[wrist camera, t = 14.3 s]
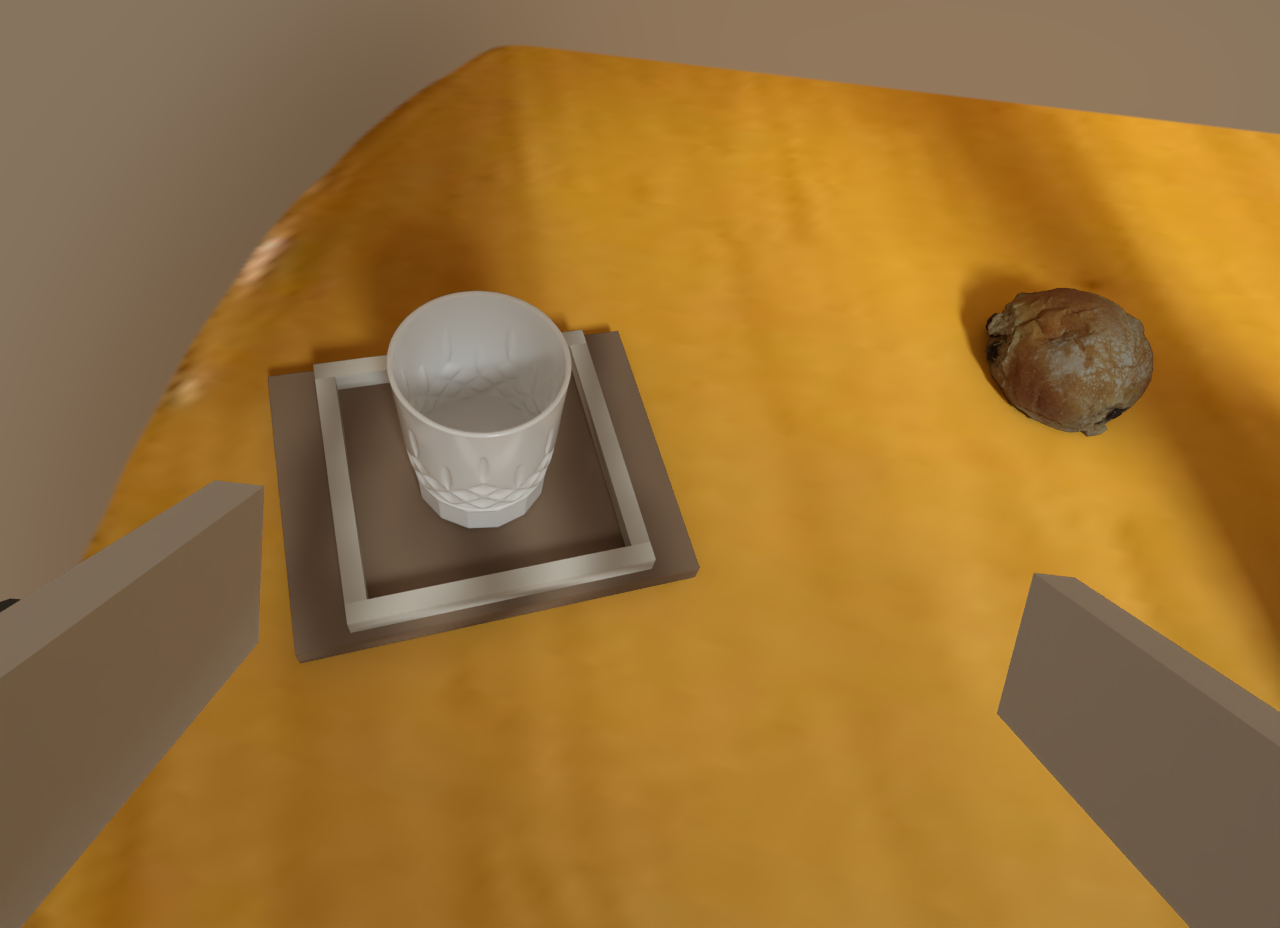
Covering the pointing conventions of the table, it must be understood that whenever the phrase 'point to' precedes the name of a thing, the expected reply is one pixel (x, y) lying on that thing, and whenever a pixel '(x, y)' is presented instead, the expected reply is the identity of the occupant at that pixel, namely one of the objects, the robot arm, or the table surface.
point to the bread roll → (1069, 358)
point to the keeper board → (442, 550)
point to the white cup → (479, 402)
